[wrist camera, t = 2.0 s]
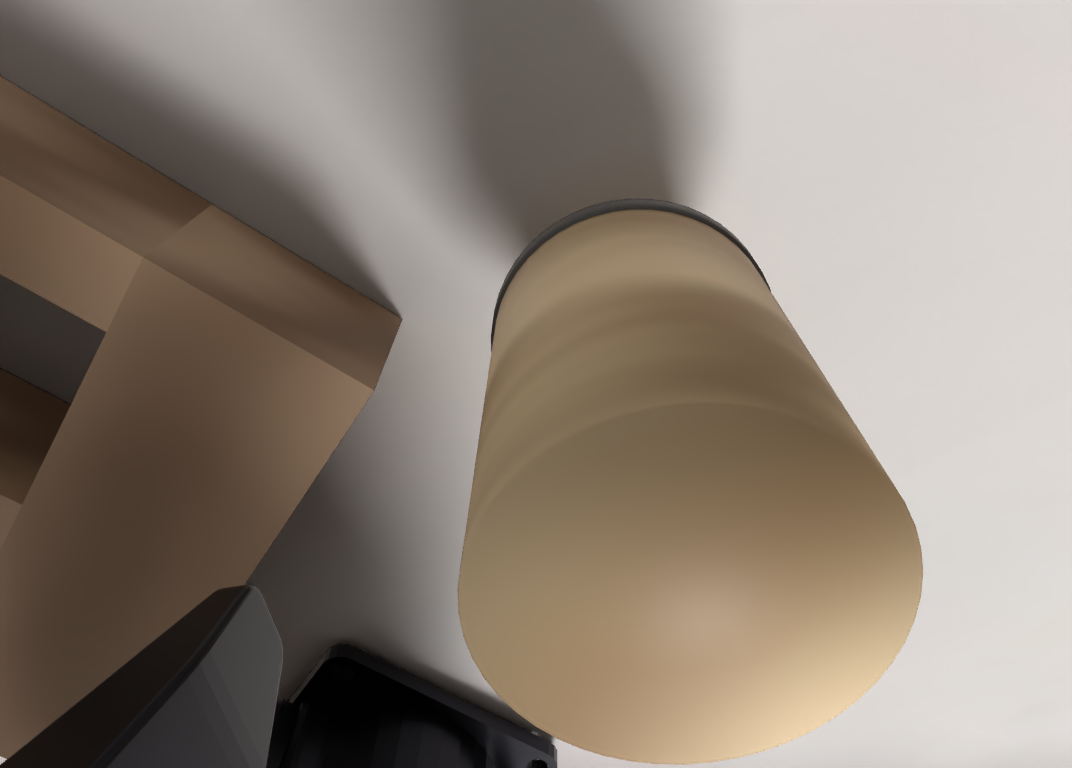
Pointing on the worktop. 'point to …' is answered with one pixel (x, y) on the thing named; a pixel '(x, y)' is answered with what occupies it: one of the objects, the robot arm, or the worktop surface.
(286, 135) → the worktop surface
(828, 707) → the oak peg
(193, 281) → the walnut block
